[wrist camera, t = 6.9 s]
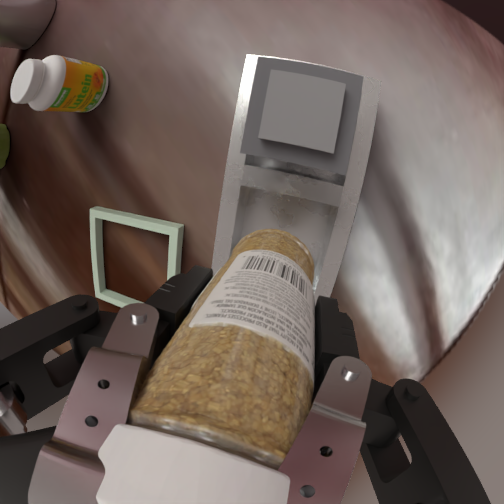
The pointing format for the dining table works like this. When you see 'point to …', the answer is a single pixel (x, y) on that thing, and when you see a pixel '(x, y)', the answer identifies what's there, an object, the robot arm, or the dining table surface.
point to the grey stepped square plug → (302, 114)
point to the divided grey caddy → (294, 191)
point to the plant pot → (4, 144)
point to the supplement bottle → (59, 84)
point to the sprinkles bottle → (224, 388)
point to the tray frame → (135, 221)
